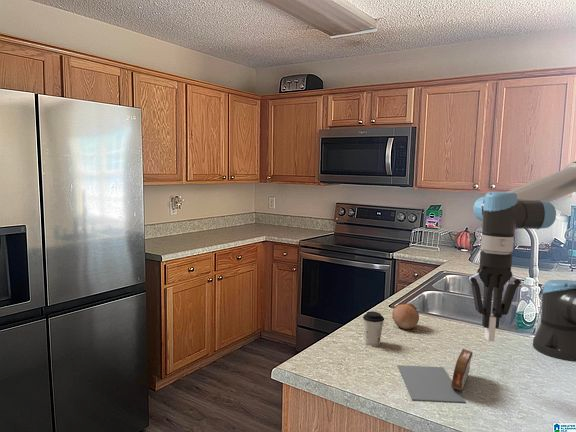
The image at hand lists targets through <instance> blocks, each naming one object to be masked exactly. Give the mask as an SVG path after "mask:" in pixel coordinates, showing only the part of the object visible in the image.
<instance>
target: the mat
mask: <svg viewBox="0 0 576 432" xmlns="http://www.w3.org/2000/svg"><path fill="white" fill-rule="evenodd" d="M397 369H398V370H399V373H400V376H401V377H402V380H403V383H404V385H405V386H406V387H405V388H406V390H407V392H408V393H409V396H410V399H411V401H416V402H417V401H419V402H420V401H422V402H439V403H442V402H443V403H463V404H466V401H465V399H464V398H463V396H462V394H461V393H460V390H457V389H455V388H451V384H452V378H451V377H450V376H449V375H448V373H447V371H446V370H445V369H444V367H443V366H428V365H427V366H426V365H425V366H424V365H403V364H402V365H401V364H397Z"/></svg>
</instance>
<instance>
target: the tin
mask: <svg viewBox="0 0 576 432" xmlns="http://www.w3.org/2000/svg"><path fill="white" fill-rule="evenodd" d="M473 354H474V353H473V351H471V350H468V349H466V348H462V350H461V351H460V353H459V355H458V357H457V360H456V362H455V366H454V369H453V374H452V378H451V381H452V384H451V388H455V389H457V390H458V391H463V389H464V387H465V385H466V382H467V379H468V376H469V374H470V373H469V372H470V367H471V360H472V358H473Z"/></svg>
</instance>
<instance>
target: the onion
mask: <svg viewBox="0 0 576 432" xmlns="http://www.w3.org/2000/svg"><path fill="white" fill-rule="evenodd" d="M391 318H392V320H393V322H394V323H395V325H396V326H397V327H398V328H401V329H403V330H407V329H408V330H413V329H414V328H416V327H417V325H418V324H419V320H420V315H419V311H418V308H417V307H416V306H415V305H414V304H413V303H411V302H407V303H402V304H397V305H396V306H395V307H394V308H393V310H392V317H391Z"/></svg>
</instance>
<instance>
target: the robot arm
mask: <svg viewBox="0 0 576 432" xmlns="http://www.w3.org/2000/svg"><path fill="white" fill-rule="evenodd" d="M573 193H576V160H575V161H573V162H571V163H568V164H567V165H565V166H564V168H563V169H562V170H559V171H556V172H554V173H551V174H549V175H547V176H544V177H541V178H539V179H536V180H533V181H531V182H529V183H526V184H524V185H522V186H519V187H516V188H513V189H510V190H508V191H505V192H504V191H502V192H501V191H489V192H486V194H485V196H482V197H479V198H478V199H476V201H475V202H474V204H473V214H474V217H475V219H477V220H478V221H482V228H481V241H480V249H481V251H480V255H479V267H478V269H477V271H476V273H475V274H473V275H468V276H467V280H468V281H469V283H470V285H471V291H472V297H473V301H474V302H473V303H474V307H475V310H476V311H477V312H478V313H479V314H481V315H482V321H481V325H482V327H483V328H484V338H485V339H486V340H487V341H488V342H495V337H496V329H499V327H500V319H502V317H503V316H504V315H505V316H507V315H508V314H509V311H510V308H511V305H512V303H513V300H514V296H515V294H516V291H517V289H518V287H519V286H520V285H521V284H522V280H520V279H519V278H516V277H515V276H513V272H512V264H513V253H512V252H513V250H514V241H515V240H514V239H515V230H517V229H518V230H519V229H523V230H525V229H527V230H530V229H531V230H541V229H548V228H550V227H552V225H553V224H554V223H555V222H556V219H557V218H556V217H557V210H556V207H555V206H554V205H553V204H552V203H551V202H552V201H553V202H554V201H555V200H558V199H560V198H561V199H562V198H563V197H565V196H568V195H571V194H573ZM480 281H481V282H482V283H483V295H482V293H481V289H480V288H481V287H480V284H479V283H480ZM507 283H508V284H507ZM506 284H507V286H506V289H505V285H506ZM504 289H505V290H504ZM503 293H504V295H503ZM482 296H483V299H482ZM540 313H541V314H540V323H539V326H538V329H537V331H536V332H535V335H534V337H533V339H532V348H534V349H535V350H536V351H537V352H538V353H541V354H543V355H547V356H549V357H553V358H556V359H561V360H567V361H576V280H573V279H551V280H547V281H546V282H545V283H544V284H543V290H542V300H541V312H540Z"/></svg>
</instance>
